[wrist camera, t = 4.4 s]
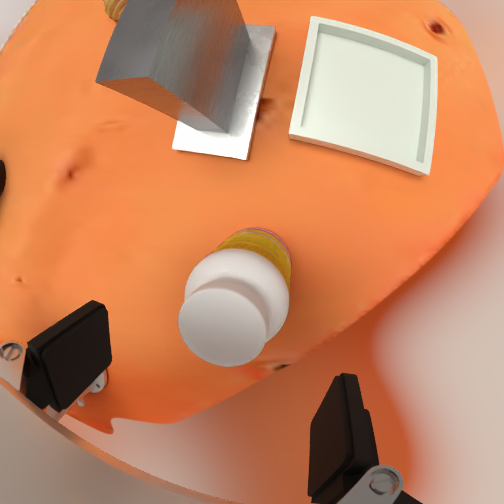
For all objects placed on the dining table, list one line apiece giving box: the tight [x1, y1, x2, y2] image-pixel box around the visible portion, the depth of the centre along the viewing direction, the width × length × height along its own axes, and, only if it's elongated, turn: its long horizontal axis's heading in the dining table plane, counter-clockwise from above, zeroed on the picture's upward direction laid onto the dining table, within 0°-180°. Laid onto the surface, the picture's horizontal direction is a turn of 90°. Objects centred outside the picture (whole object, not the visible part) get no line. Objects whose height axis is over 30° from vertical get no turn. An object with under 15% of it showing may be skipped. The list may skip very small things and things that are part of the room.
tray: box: [289, 16, 438, 176], centre depth 19 cm, size 13×13×2 cm
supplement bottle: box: [178, 228, 291, 367], centre depth 19 cm, size 7×7×13 cm
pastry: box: [103, 0, 128, 21], centre depth 19 cm, size 9×7×4 cm
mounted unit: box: [95, 0, 276, 161], centre depth 15 cm, size 14×7×15 cm, turn 169°
